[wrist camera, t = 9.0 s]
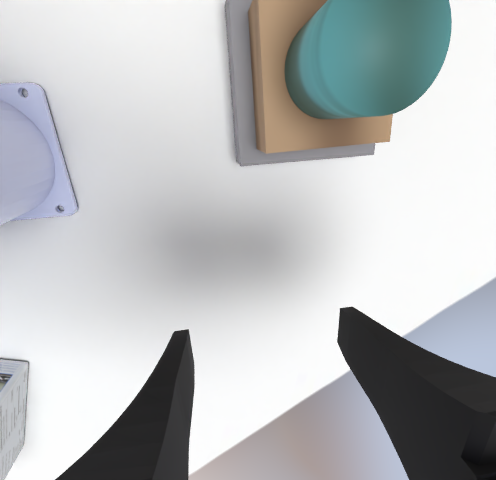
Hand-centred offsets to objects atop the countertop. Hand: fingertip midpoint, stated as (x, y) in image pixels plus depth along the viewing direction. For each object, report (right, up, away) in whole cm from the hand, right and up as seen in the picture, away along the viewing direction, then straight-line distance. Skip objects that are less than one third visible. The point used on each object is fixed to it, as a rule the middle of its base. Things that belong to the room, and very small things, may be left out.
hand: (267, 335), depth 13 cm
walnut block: (+3, +14, +4) cm, 15 cm away
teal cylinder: (+3, +13, +1) cm, 13 cm away
